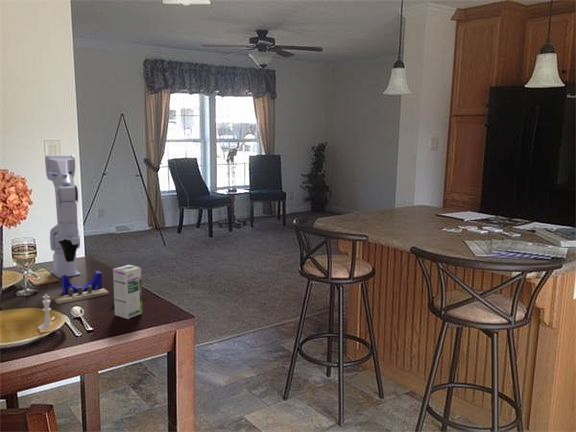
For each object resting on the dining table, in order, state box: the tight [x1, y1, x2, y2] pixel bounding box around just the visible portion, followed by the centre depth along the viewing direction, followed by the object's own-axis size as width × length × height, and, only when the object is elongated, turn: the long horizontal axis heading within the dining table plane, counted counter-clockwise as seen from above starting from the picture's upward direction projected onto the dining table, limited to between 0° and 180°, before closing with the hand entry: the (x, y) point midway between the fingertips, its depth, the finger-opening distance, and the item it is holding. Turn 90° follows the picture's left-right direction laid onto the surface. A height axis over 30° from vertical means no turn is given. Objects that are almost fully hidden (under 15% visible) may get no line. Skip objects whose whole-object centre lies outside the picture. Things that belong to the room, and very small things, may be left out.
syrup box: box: [112, 264, 143, 320], centre depth 152 cm, size 6×6×14 cm
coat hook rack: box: [53, 285, 110, 305], centre depth 167 cm, size 4×16×3 cm, turn 130°
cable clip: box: [61, 270, 103, 296], centre depth 172 cm, size 12×4×6 cm, turn 124°
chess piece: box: [37, 293, 53, 330], centre depth 140 cm, size 5×5×10 cm
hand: (69, 261), depth 174 cm, fingers closed
